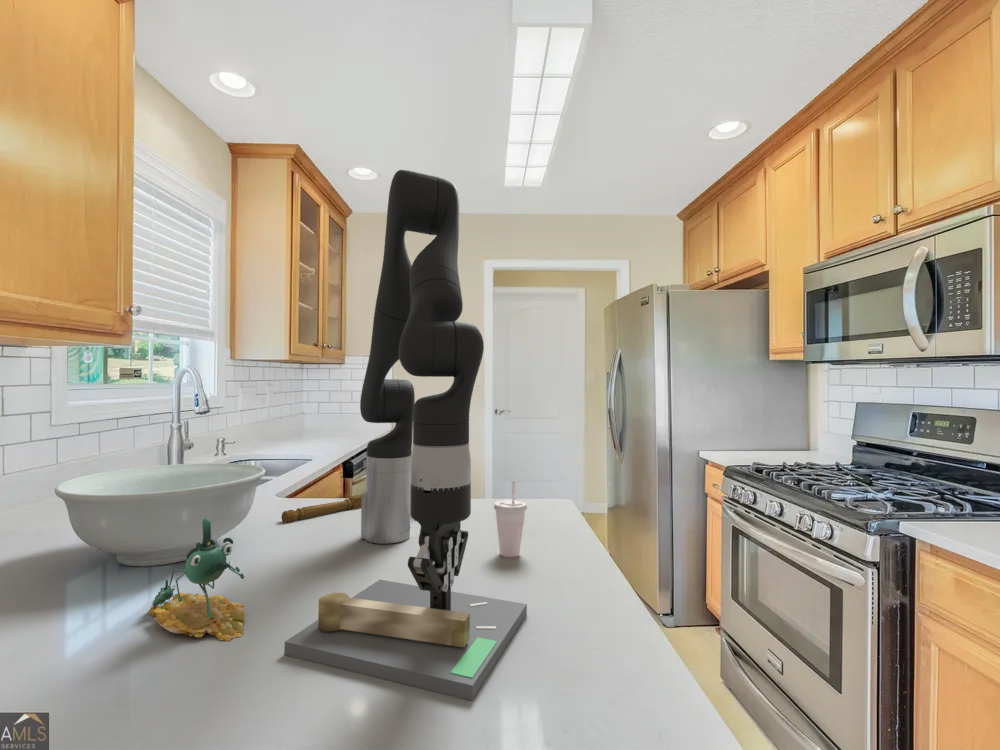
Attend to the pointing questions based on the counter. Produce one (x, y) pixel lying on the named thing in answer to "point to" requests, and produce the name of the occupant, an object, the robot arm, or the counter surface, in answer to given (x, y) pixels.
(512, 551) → the smoothie
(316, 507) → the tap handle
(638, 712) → the counter surface
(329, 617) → the dial lever
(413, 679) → the dial plate
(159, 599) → the green cartoon bug figurine
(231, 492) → the bowl
